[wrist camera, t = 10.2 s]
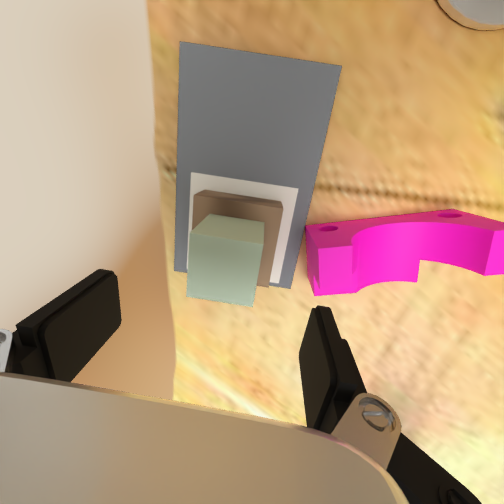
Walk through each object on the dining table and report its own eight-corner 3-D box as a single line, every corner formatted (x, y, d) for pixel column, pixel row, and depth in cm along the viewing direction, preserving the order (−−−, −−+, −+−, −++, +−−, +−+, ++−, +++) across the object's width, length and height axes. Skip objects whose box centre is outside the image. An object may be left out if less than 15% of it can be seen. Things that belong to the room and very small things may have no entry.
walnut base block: (281, 201, 25) (283, 208, 21) (268, 270, 28) (268, 287, 24) (204, 189, 25) (193, 194, 21) (199, 259, 28) (189, 275, 24)
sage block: (264, 222, 22) (263, 244, 16) (256, 271, 23) (252, 307, 18) (209, 213, 22) (189, 232, 16) (205, 263, 23) (186, 296, 18)
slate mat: (340, 67, 21) (342, 65, 20) (290, 287, 29) (290, 289, 28) (181, 43, 21) (179, 40, 20) (175, 269, 29) (174, 271, 28)
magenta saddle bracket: (307, 275, 28) (320, 313, 21) (304, 225, 26) (318, 249, 19) (442, 263, 27) (504, 300, 20) (451, 208, 25) (524, 228, 18)
